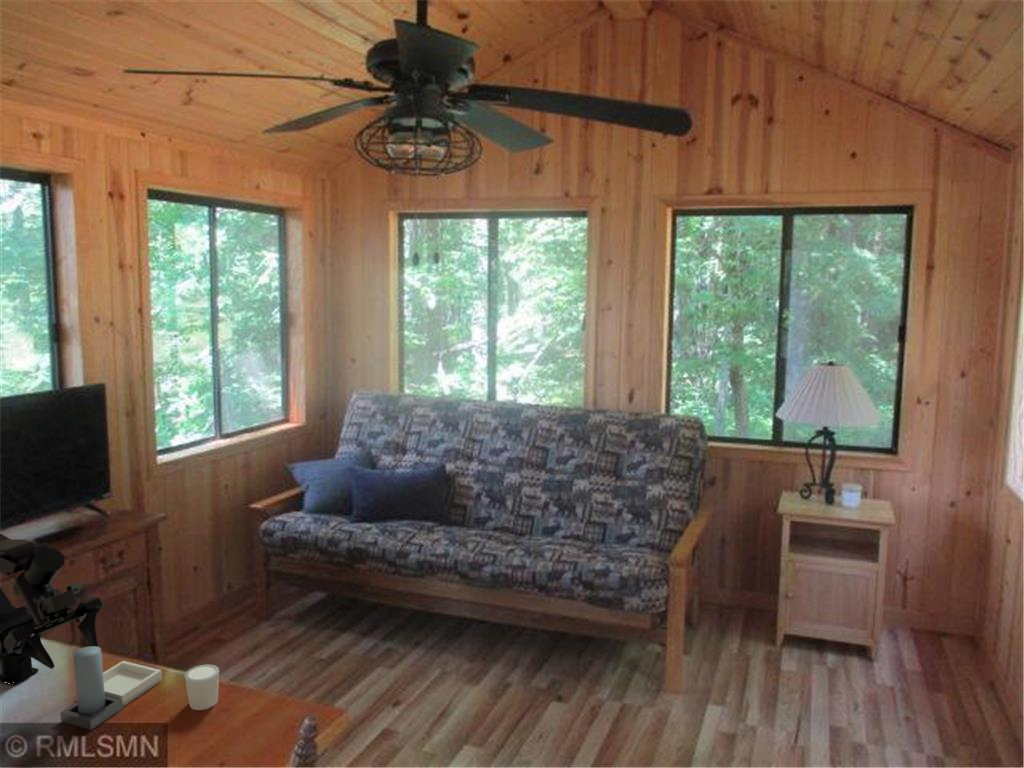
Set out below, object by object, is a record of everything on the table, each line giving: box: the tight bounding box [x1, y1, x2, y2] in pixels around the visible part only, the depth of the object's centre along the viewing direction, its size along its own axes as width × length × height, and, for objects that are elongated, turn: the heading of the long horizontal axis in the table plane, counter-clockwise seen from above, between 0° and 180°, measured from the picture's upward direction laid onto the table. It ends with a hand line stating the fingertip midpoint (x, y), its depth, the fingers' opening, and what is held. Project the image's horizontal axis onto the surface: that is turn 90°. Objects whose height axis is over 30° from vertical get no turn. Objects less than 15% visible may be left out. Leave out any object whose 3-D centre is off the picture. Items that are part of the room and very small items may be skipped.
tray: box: [103, 660, 163, 707], centre depth 174 cm, size 11×11×2 cm
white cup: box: [184, 664, 220, 711], centre depth 169 cm, size 7×7×7 cm
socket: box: [60, 695, 124, 731], centre depth 165 cm, size 8×8×2 cm
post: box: [72, 646, 106, 717], centre depth 163 cm, size 5×5×14 cm
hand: (75, 657), depth 165 cm, fingers open, 9 cm apart
